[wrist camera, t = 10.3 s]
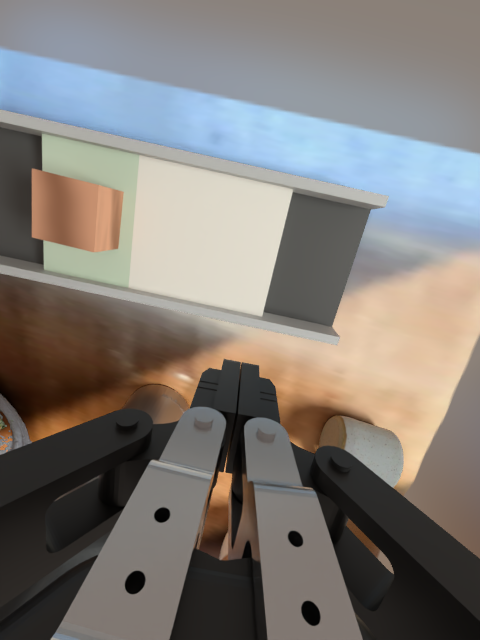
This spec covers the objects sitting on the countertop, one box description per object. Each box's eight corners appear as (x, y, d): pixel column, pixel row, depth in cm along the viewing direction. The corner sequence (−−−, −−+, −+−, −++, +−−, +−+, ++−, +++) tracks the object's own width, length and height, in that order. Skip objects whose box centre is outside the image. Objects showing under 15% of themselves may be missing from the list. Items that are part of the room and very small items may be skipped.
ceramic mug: (332, 401, 39) (348, 442, 32) (386, 418, 40) (415, 462, 32) (303, 457, 43) (312, 505, 35) (354, 472, 43) (373, 523, 36)
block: (123, 191, 30) (98, 185, 25) (118, 248, 32) (94, 252, 27) (67, 177, 30) (31, 168, 25) (65, 235, 31) (31, 237, 27)
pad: (148, 160, 31) (139, 154, 29) (136, 284, 35) (128, 288, 33) (58, 140, 31) (41, 133, 28) (58, 267, 35) (43, 269, 33)
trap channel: (372, 200, 31) (388, 196, 27) (328, 332, 36) (337, 345, 32) (-25, 111, 30) (-65, 95, 27) (-13, 259, 35) (-45, 263, 32)
